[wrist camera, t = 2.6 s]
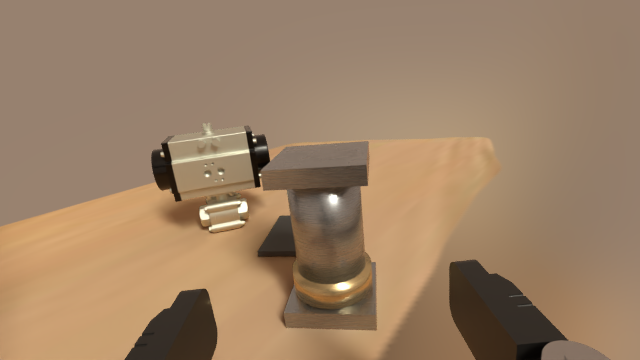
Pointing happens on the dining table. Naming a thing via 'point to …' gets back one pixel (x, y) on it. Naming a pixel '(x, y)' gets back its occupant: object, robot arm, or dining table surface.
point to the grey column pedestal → (327, 235)
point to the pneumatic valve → (212, 171)
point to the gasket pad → (279, 239)
